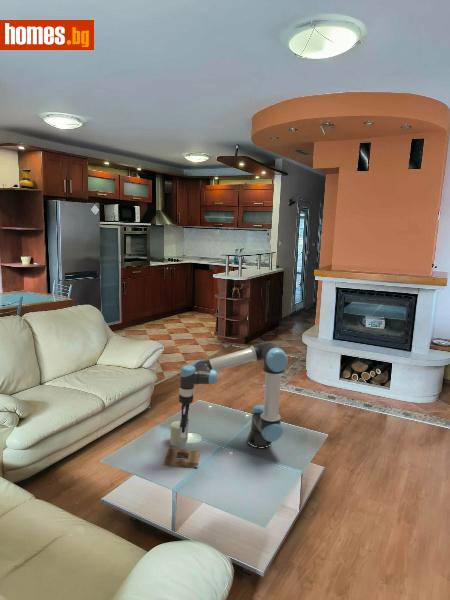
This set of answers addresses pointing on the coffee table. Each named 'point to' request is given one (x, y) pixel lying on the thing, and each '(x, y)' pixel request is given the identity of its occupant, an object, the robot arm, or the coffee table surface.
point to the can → (175, 434)
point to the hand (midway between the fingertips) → (183, 434)
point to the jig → (174, 453)
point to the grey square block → (186, 432)
